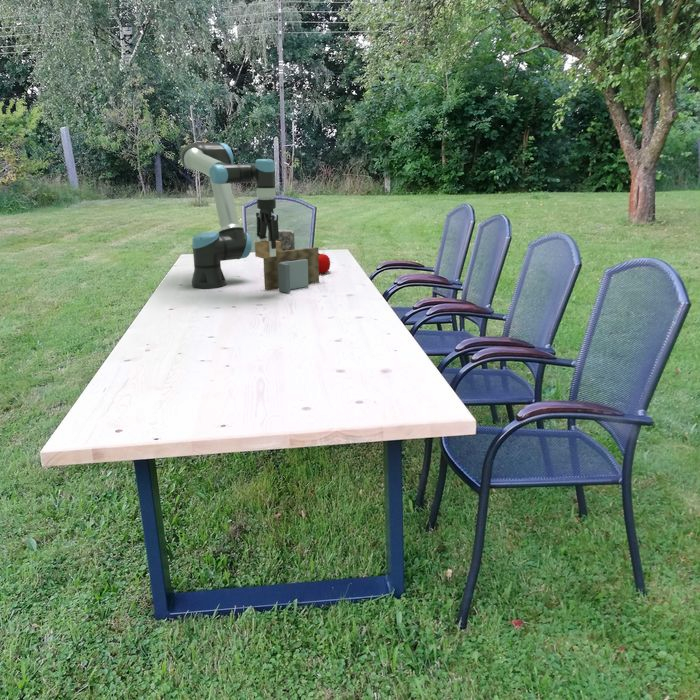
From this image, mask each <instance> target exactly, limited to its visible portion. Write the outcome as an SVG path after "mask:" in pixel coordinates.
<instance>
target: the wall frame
mask: <svg viewBox="0 0 700 700" xmlns="http://www.w3.org/2000/svg"><path fill="white" fill-rule="evenodd" d="M319 254H320V253H319V247H315V246H314V247H307V248H306V247H305V248H297V249H295V250H287V251H281V256H278V257H270V258H262V259H263V277H264V278H263V279H264V290H265V291H271V290H272V291H273V290H277V289H278V288H279V281H278V261H286V260H294V261H296V260H304V259H307V260H308V285H309V283H310V284H315V282H317V283H319V282H320V274H319ZM278 290H279V289H278Z"/></svg>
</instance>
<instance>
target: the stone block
mask: <svg viewBox="0 0 700 700" xmlns="http://www.w3.org/2000/svg"><path fill="white" fill-rule="evenodd" d="M278 231H279V239H277V240H276V241H280V242H281V251H287V250H296V249H295V248H296V246H295V243H296V242H295V231H294V230H293V229H278ZM267 238H268V239H267V241H269V240H270V237H269V232H268V233H267ZM288 261H294V260H286V261H278V263H281V262H288Z"/></svg>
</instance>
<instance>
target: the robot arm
mask: <svg viewBox="0 0 700 700" xmlns="http://www.w3.org/2000/svg"><path fill="white" fill-rule="evenodd" d="M231 149H232V148H231V147H230V146H229V145H227V144H226V143H225V142H217V141H215V142H196V141H195V142H192V143H189V144H187V145H184V147H183V148H182V150H181V152H180V161H181V164H182V165H183V166H184V167H185V168H187V169H188V170H190V171H195V172H196V171H197V172H199V173H201V174H204V175H206V176H207V177H208V178H209V180H210V184H211V189H212V193H213V198H214V203H215V208H216V213H217V217H218V221H219V226H220V229H219V231H218V232H217V231H210V232H209V231H208V232H207V231H206V232H201V233H198V234H195V235H194V236H193V237H192V248H191V249H192V255H193V256H192V257H193V265H194V266H193V267H194V269H193V273H192V278H191V287H192V286H193V287H192V288H195V287H196V289H217V288H222V287H225V286H226V285H227V281H226V280H227V279H226V278H225V275H224V271H223V270H222V267H221V262H222V261H233V260H241V259H245V258H248V257H249V255H250V254H251V250H252V246H253V245H252V237H251V235H250V234H249V233H248V232H246V231H245V229H244V227H243V226H242V225H240V222H239V217H238V212H237V208H236V202H235V199H234V194H233V189H232V184H246V183H247V184H248V183H249V184H251V183H253V184H256V185H255V186H256V198H257V200H256V207H257V209H259V212H256V213H255V217H256V237H257V238H259V239H260V241H268V239H267V238H268V236H267V230H268V232H269V237H270V240H269V255H270V257H274V256H276V240H277V239H279V231H278V230H279V215H278V214H275V211H274V210H275V209H276V207H277V205H276V203H277V202H276V199H275V198H276V176H275V175H276V173H275V172H276V171H275V170H276V168H275V161H274V160H273V159H272V158H258V159H256V160H255V163H252V162H251V163H249V162H248V163H234V155H233V152H232V150H231ZM260 241H259V242H260Z"/></svg>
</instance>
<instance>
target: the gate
mask: <svg viewBox="0 0 700 700" xmlns="http://www.w3.org/2000/svg"><path fill="white" fill-rule="evenodd" d="M278 281H279V289H278V291H280V292H283V293H285V294H289V293H291V290H294V289H299V288H307V287H309V284H308V260H307V259H304V260H296V261H288V262H281V263H278Z"/></svg>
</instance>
